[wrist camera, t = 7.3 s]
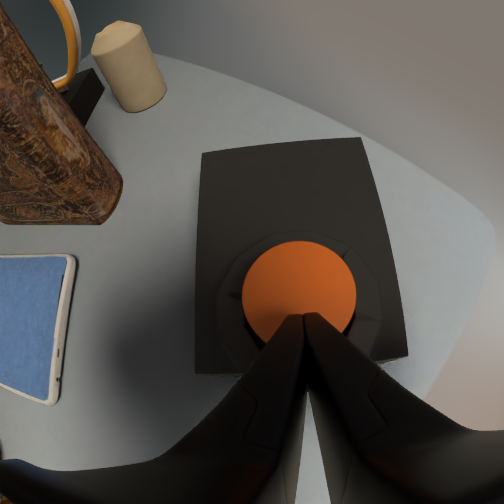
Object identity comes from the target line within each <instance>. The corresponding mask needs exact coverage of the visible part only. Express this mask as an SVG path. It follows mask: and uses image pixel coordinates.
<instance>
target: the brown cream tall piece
mask: <svg viewBox="0 0 504 504" xmlns="http://www.w3.org/2000/svg"><path fill="white" fill-rule="evenodd" d="M0 504H13V503H12V502H11V501H10V500H8V499H7V498H6V497H5V496H4V495H2V497H1V502H0Z"/></svg>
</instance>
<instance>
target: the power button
mask: <svg viewBox="0 0 504 504" xmlns="http://www.w3.org/2000/svg"><path fill="white" fill-rule="evenodd" d="M355 305H356V286H355V282H354V279H353V276H352V273H351V271H350V270H349V268H348V266H347V265H346V263H345V262H344V261H343V260H342V259H341V258H340V257H339V256H338V255H337V254H336V253H335V252H333V251H332V250H330V249H329V248H327V247H325V246H323V245H320V244H317V243H313V242H308V241H292V242H286V243H283V244H279V245H277V246H275V247H273V248H271V249H269V250H267V251H266V252H265V253H263V254H262V255H261V256H260V257H259V258H258V259H257V260H256V261H255V262H254V263H253V265H252V266H251V268H250V269H249V271H248V273H247V275H246V277H245V280H244V284H243V289H242V306H243V310H244V313H245V316H246V319H247V321H248V322H249V324H250V326H251V327H252V329H253V330H254V331H255V333H256V334H257V335H258V336H259V337H260V338H261V339H262V340H263V341H264V342H265V343H266V344H267V342H268V341H269V339H270V338H271V337H272V335H273V334H274V333H275V331H276V330H277V329H278V327H279V326H280V325H281V323H282V322H283V320H284V319H285V318H286V316H287V315H289V314H299V313H300V314H302V315H303V314H304V313H310V312H318V313H319V314H320V315H322V316H323V317H324V318H325V319H326V320H327V321H328V322H329V323H331V324H332V325H333V326H334V327H335V328H336V329H337V330H338V331H340V332H341V333H342V332H343V331H344V329H345V328H346V327H347V325H348V324H349V322H350V320H351V318H352V315H353V313H354V310H355Z"/></svg>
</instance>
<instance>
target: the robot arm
mask: <svg viewBox="0 0 504 504" xmlns="http://www.w3.org/2000/svg"><path fill="white" fill-rule="evenodd" d="M307 384H308V392H309V397H310V402H311V406H312V411H313V416H314V421H315V425H316V430H317V435H318V440H319V445H320V450H321V455H322V460H323V465H324V470H325V475H326V480H327V486H328V491H329V496H330V501H331V504H504V430H498V431H477V430H472V429H469V428H466V427H464V426H461V425H460V424H458V423H456V422H454V421H453V420H451V419H450V418H448V417H447V416H445V415H444V414H442V413H440V412H439V411H438V410H436V409H434V408H433V407H431V406H430V405H428V404H427V403H425V402H424V401H422V400H421V399H419V398H418V397H417V396H415V395H414V394H412V393H411V392H410V391H408V390H407V389H405V388H404V387H403V386H402V385H400V384H399V383H398V382H397V381H396V380H394V379H393V378H392V377H391V376H390V375H388V374H387V373H386V372H385V371H384V370H382V369H381V368H380V367H379V366H378V365H377V364H376V363H375V362H374V361H372V360H371V359H370V358H369V357H368V356H367V355H366V354H365V353H363V352H362V351H361V350H360V349H359V348H358V347H357V346H355V345H354V344H353V343H352V342H351V341H350V340H349V339H348V338H346V337H345V336H344V335H343V334H342V333H341V332H340V331H338V330H337V329H336V328H335V327H334V326H333V325H332V324H331V323H329V322H328V321H327V320H326V319H325V318H324V317H323V316H322V315H320V314H319V313H318V312H310V313H304V314H303V315H302V314H300V313H299V314H289V315H287V316H286V318H285V319H284V320H283V322H282V323H281V325H280V326H279V327H278V329H277V330H276V331H275V333H274V334H273V335H272V337H271V338H270V339H269V341H268V342H267V344H266V345H265V346H264V348H263V349H262V350H261V352H260V353H259V354H258V356H257V357H256V358H255V359H254V361H253V362H252V363H251V365H250V366H249V367H248V369H247V370H246V371H245V372H244V374H243V375H242V376H241V378H240V379H239V380H238V381H237V383H236V384H235V385H234V386H233V388H232V389H231V390H230V391H229V393H228V394H227V395H226V396H225V397H224V398H223V400H222V401H221V402H220V403H219V404H218V405H217V406H216V407H215V408H214V409H213V410H212V411H211V412H210V413H209V414H208V415H207V416H206V417H205V418H204V419H203V420H202V421H201V422H200V423H199V424H198V425H196V426H195V427H194V428H193V429H192V430H191V431H190V432H189V433H188V434H186V435H185V436H184V437H183V438H182V439H181V440H180V441H178V442H177V443H176V444H175V445H174V446H173V447H172V448H170V449H169V450H168V451H166V452H165V453H164V454H162V455H160V456H159V457H157V458H155V459H153V460H150V461H146V462H142V463H136V464H130V465H123V466H116V467H109V468H101V469H91V470H80V471H53V470H48V469H43V468H40V467H37V466H34V465H32V464H30V463H28V462H25V461H23V460H20V459H7V460H0V493H1V494H3V495H4V496H5V497H6V498H7V499H8V500H10V501H11V502H12V503H13V504H295V497H296V490H297V482H298V475H299V467H300V458H301V450H302V441H303V431H304V422H305V411H306V400H307Z"/></svg>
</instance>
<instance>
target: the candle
mask: <svg viewBox="0 0 504 504" xmlns="http://www.w3.org/2000/svg"><path fill="white" fill-rule="evenodd" d="M91 54H92V56H93V58H94V59H95V61H96V63H97V65H98V67H99V68H100V70H101V72H102V74H103V75H104V77H105V79H106V81H107V82H108V84H109V86H110V88H111V89H112V91H113V93H114V94H115V96H116V98H117V100H118V101H119V103H120V105H121V106H122V108H123V109H124V110H125V111H127V112H139V111H142V110H145V109H147V108H149V107H151V106H153V105H154V104H156V103H157V102H158V101H159V100H160V99H161V98H162V97H163V96H164V94H165V92H166V85H165V82H164V79H163V77H162V75H161V72H160V70H159V68H158V66H157V63H156V61H155V59H154V56H153V54H152V52H151V49H150V47H149V45H148V42H147V40H146V38H145V35H144V33H143V30H142V28H141V26H139V25H137V24H133V23H128V22H123V21H116V22H114V23H113V24H111V25H108V26H107V27H105V28H104V29H103V31H102V32H100V33H97V34H96V36H95V40H94V43H93V46H92V49H91Z"/></svg>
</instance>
